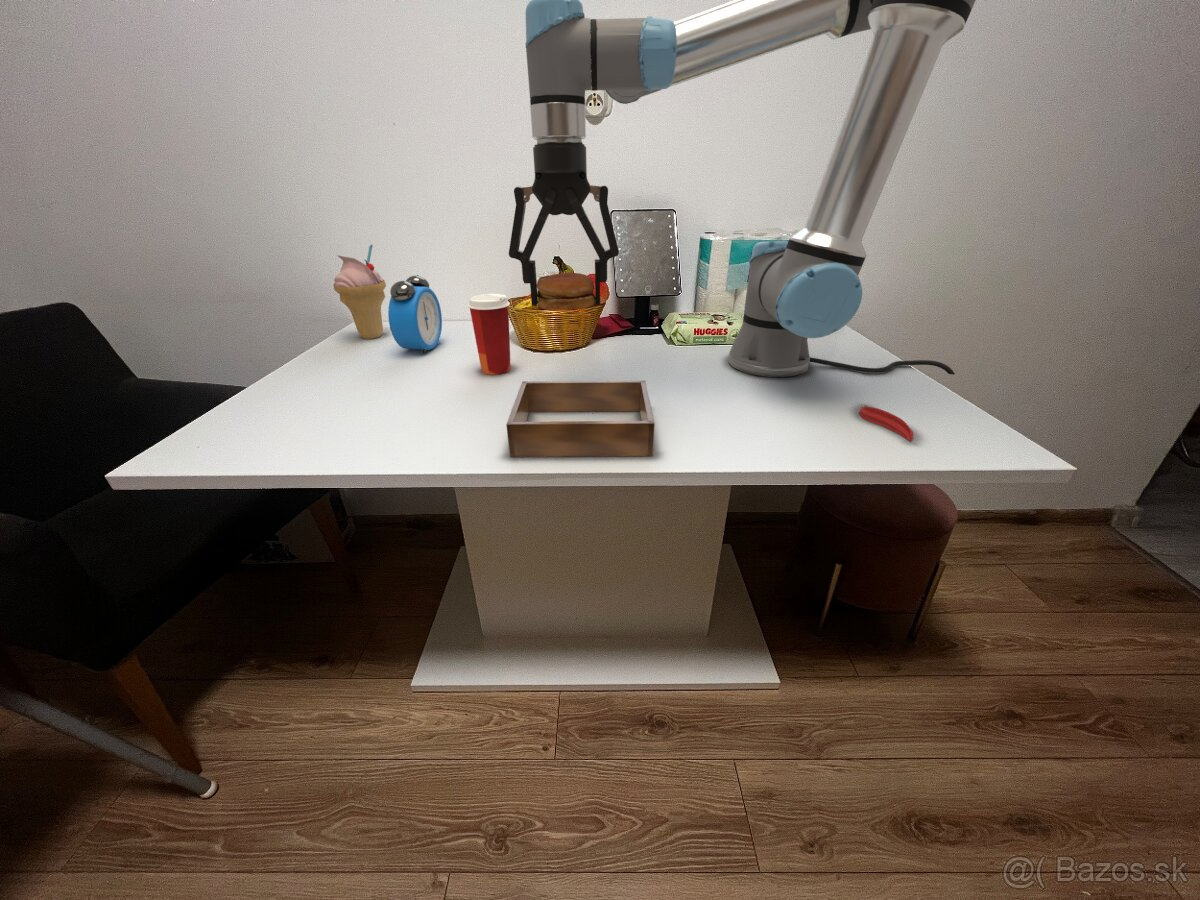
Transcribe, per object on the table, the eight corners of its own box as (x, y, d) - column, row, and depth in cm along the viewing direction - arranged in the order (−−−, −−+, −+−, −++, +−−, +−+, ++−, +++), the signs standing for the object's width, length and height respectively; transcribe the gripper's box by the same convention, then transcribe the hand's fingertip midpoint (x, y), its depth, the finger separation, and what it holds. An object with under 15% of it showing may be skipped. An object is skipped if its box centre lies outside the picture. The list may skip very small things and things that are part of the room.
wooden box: (644, 409, 83) (645, 380, 81) (652, 456, 70) (654, 423, 67) (524, 409, 83) (522, 381, 81) (509, 457, 70) (506, 424, 67)
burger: (603, 308, 80) (603, 277, 78) (546, 314, 77) (544, 282, 75) (584, 296, 88) (583, 268, 86) (531, 301, 86) (529, 272, 83)
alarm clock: (422, 358, 107) (408, 284, 99) (394, 357, 107) (378, 284, 100) (446, 340, 118) (435, 272, 111) (421, 339, 119) (409, 272, 111)
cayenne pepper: (851, 407, 83) (853, 396, 82) (879, 407, 83) (882, 396, 82) (887, 441, 73) (891, 429, 72) (920, 441, 73) (924, 429, 72)
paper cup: (522, 365, 102) (516, 294, 96) (504, 378, 96) (496, 303, 89) (488, 361, 105) (479, 291, 98) (468, 374, 98) (457, 300, 92)
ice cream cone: (371, 328, 128) (352, 242, 118) (405, 332, 124) (388, 244, 114) (336, 339, 119) (312, 248, 109) (371, 345, 115) (350, 251, 106)
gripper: (635, 142, 75) (633, 297, 86) (485, 144, 75) (501, 299, 86) (640, 139, 69) (636, 308, 79) (475, 142, 68) (494, 310, 79)
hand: (566, 303), depth 83 cm, fingers closed on burger, 9 cm apart
